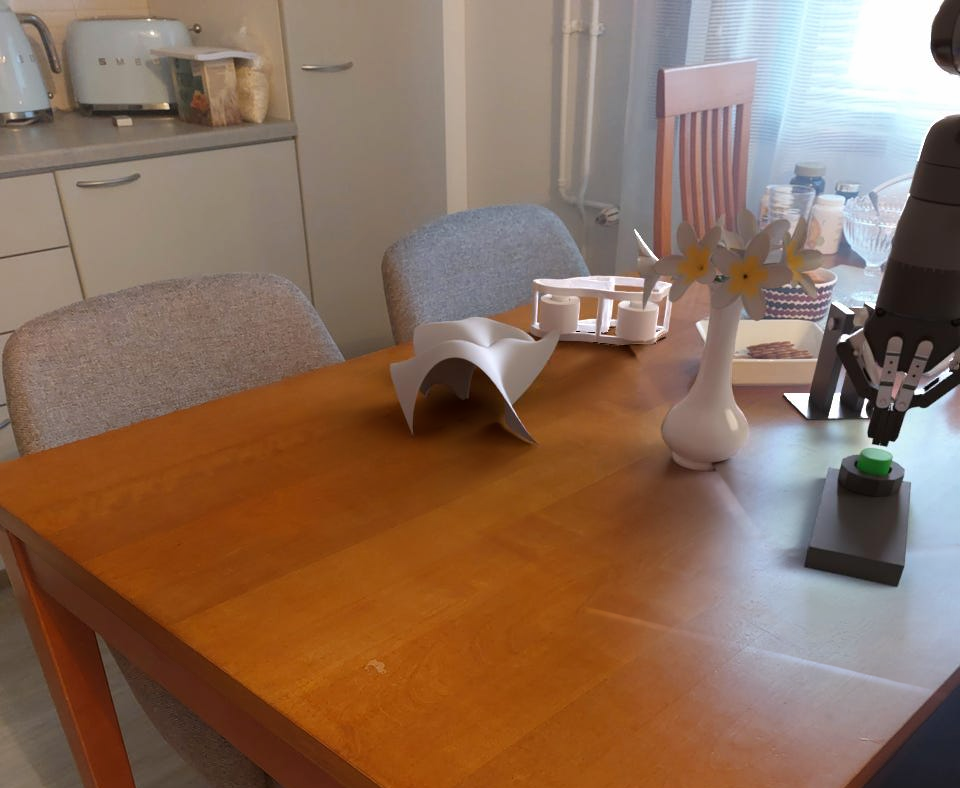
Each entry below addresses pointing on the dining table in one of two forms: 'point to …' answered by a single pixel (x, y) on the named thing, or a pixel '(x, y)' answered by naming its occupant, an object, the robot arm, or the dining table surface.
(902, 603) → the dining table surface
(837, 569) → the dark box
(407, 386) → the sculpture
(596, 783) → the dining table surface
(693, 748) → the dining table surface
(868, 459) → the green button
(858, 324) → the switch lever
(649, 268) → the flower vase
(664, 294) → the car outline toy
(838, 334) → the lever bracket
